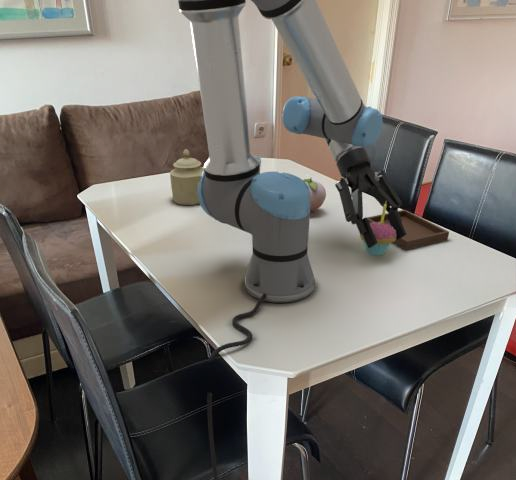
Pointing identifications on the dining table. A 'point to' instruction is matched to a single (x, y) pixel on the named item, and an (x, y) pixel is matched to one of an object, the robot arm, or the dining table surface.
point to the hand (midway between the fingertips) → (387, 241)
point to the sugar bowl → (186, 180)
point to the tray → (415, 230)
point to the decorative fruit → (315, 193)
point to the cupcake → (381, 236)
